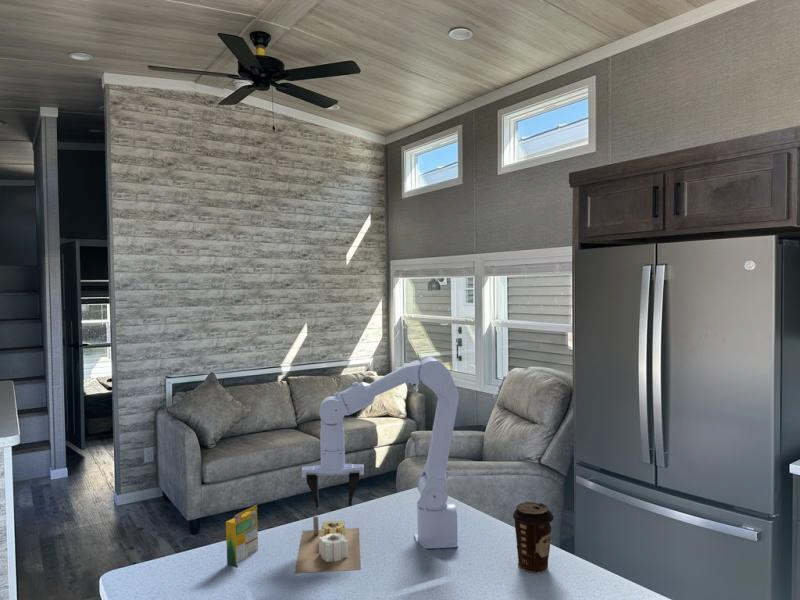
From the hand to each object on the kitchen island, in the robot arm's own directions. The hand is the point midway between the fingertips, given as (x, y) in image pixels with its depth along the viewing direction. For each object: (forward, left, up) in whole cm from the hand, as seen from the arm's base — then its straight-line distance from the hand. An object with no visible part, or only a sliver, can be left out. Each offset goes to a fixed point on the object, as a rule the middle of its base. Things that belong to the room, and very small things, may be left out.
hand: (333, 505), depth 139 cm
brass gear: (0, 0, -9) cm, 9 cm away
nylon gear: (0, +7, -9) cm, 11 cm away
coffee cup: (-43, +15, -10) cm, 47 cm away
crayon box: (+21, +4, -10) cm, 23 cm away
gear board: (+1, +3, -10) cm, 10 cm away
